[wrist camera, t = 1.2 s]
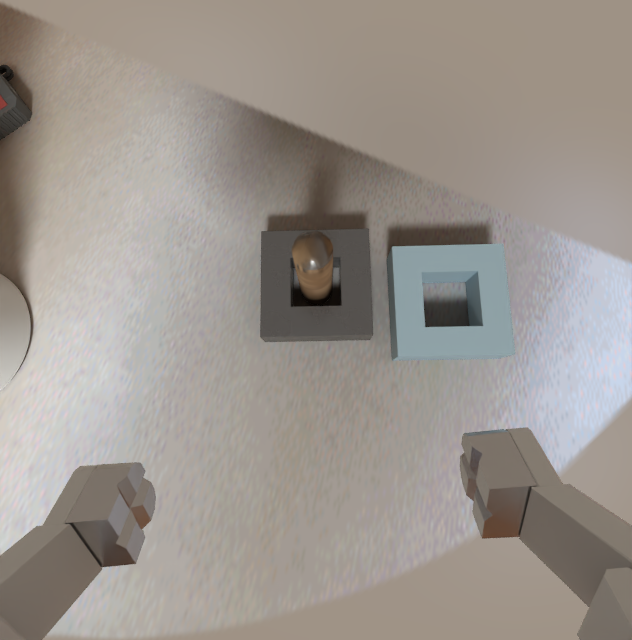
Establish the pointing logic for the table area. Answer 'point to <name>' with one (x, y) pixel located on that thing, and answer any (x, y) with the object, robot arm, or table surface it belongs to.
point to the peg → (314, 266)
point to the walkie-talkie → (10, 105)
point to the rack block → (482, 299)
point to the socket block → (316, 320)
